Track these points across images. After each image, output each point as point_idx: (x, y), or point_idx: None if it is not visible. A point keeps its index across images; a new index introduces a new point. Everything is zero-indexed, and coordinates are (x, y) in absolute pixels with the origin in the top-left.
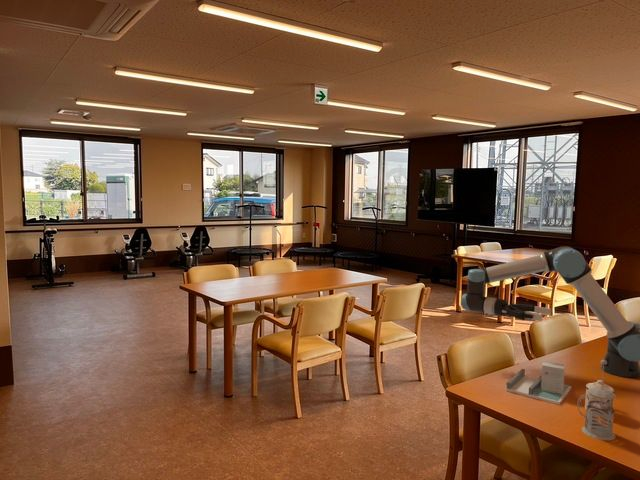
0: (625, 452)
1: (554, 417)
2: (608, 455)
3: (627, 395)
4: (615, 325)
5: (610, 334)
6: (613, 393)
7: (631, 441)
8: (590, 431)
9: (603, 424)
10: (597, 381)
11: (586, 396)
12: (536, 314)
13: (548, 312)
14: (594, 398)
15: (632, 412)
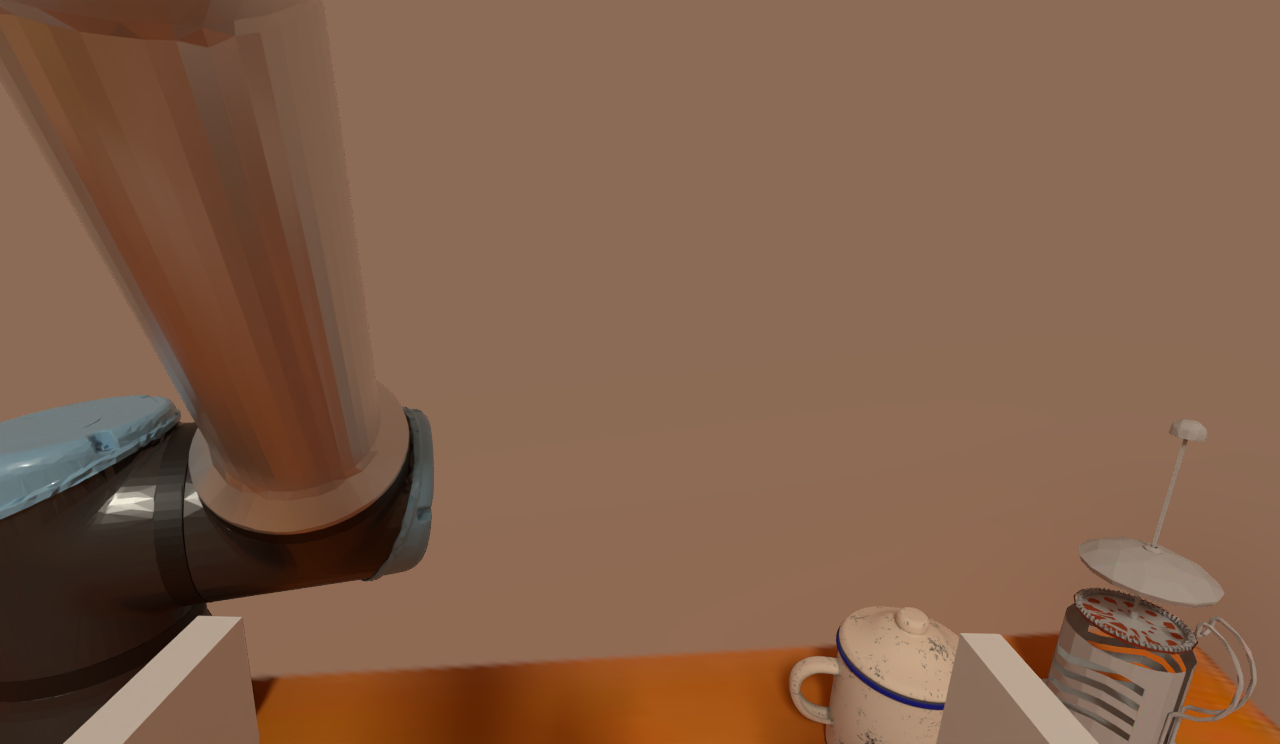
0: (1115, 647)
1: None
2: (1211, 679)
3: (556, 681)
4: (377, 408)
5: (353, 491)
6: (1097, 539)
7: (1015, 641)
8: (1168, 731)
9: (1141, 657)
10: (925, 628)
11: (1226, 622)
12: (1079, 741)
13: (227, 727)
14: None
15: (752, 655)
